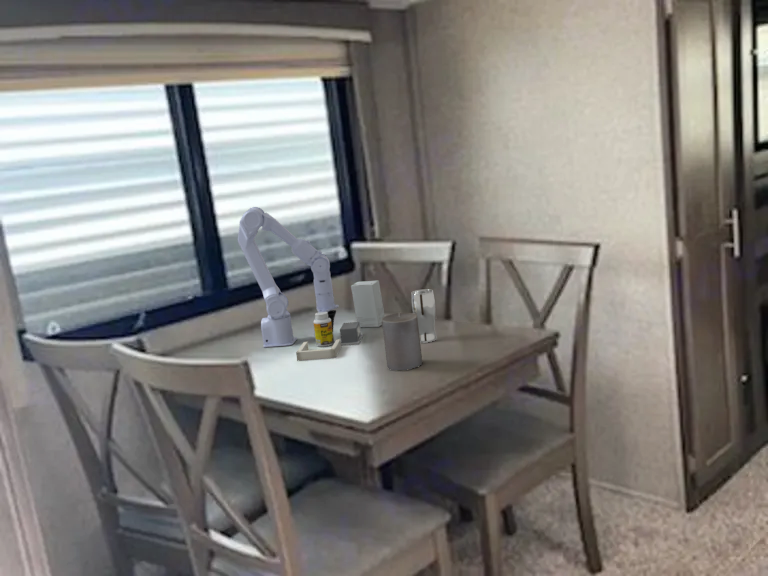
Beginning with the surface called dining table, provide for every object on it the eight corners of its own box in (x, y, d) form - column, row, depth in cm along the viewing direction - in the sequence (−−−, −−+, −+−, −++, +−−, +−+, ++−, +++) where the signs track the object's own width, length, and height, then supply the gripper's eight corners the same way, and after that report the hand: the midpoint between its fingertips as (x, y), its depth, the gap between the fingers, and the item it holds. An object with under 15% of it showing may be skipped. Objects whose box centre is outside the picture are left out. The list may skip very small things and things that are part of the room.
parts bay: (297, 360, 226) (296, 352, 226) (304, 349, 237) (303, 341, 237) (335, 357, 225) (334, 349, 225) (341, 346, 236) (340, 339, 236)
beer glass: (413, 343, 230) (408, 295, 228) (418, 337, 237) (413, 289, 234) (436, 343, 229) (431, 293, 226) (440, 336, 235) (435, 288, 232)
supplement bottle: (321, 348, 237) (317, 316, 235) (313, 345, 241) (309, 313, 239) (337, 344, 240) (333, 312, 238) (328, 341, 244) (324, 309, 242)
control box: (339, 346, 237) (337, 330, 236) (344, 337, 247) (342, 322, 246) (358, 344, 237) (357, 328, 236) (362, 336, 246) (361, 320, 245)
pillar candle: (394, 359, 216) (388, 308, 213) (427, 360, 213) (421, 307, 210) (382, 371, 208) (375, 317, 205) (416, 371, 204) (409, 316, 201)
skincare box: (385, 323, 260) (380, 279, 257) (378, 327, 254) (373, 283, 251) (363, 323, 263) (358, 280, 260) (355, 327, 258) (350, 284, 255)
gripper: (332, 296, 238) (338, 339, 241) (339, 287, 252) (344, 327, 255) (310, 298, 239) (315, 340, 242) (318, 288, 253) (323, 328, 256)
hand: (329, 334), depth 248 cm, fingers closed
